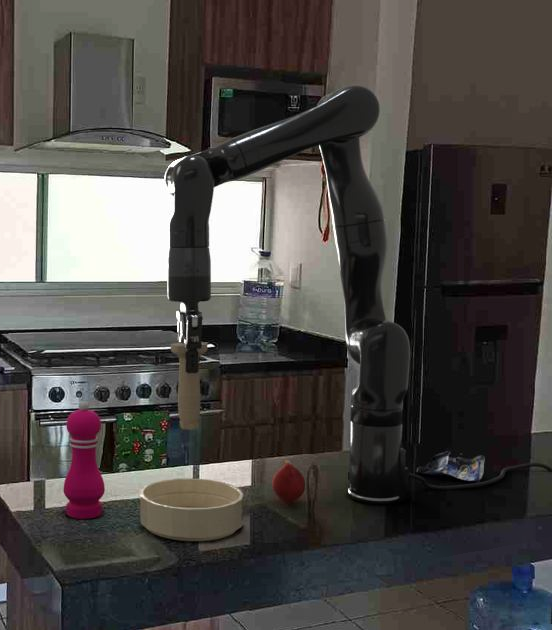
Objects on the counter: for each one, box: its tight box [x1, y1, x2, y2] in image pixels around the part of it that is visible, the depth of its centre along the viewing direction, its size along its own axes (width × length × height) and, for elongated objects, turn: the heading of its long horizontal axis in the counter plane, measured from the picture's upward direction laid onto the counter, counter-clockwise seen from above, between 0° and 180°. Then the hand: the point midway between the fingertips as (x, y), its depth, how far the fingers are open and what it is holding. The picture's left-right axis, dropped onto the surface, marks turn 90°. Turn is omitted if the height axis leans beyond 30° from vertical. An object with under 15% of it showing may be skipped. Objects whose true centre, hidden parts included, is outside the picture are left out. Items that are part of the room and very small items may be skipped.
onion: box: [271, 460, 306, 505], centre depth 150 cm, size 6×6×8 cm
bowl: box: [139, 477, 245, 542], centre depth 139 cm, size 17×17×6 cm
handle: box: [170, 342, 208, 431], centre depth 145 cm, size 5×6×15 cm
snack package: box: [416, 450, 486, 483], centre depth 168 cm, size 12×6×12 cm
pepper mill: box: [62, 400, 106, 520], centre depth 144 cm, size 7×7×20 cm
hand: (189, 369), depth 145 cm, fingers closed on handle, 5 cm apart
